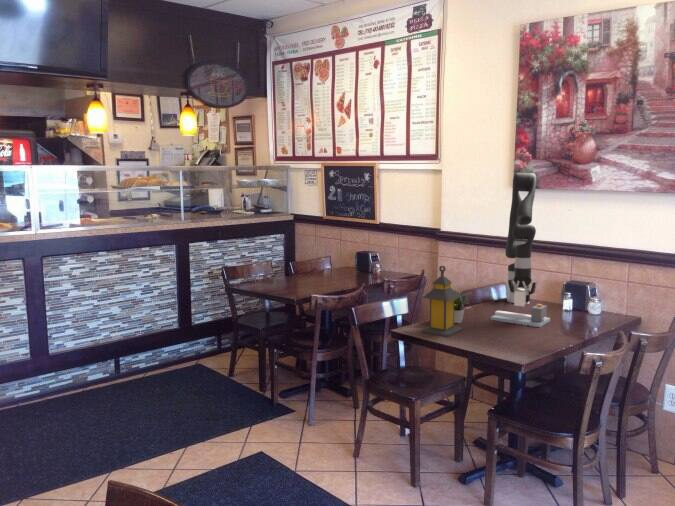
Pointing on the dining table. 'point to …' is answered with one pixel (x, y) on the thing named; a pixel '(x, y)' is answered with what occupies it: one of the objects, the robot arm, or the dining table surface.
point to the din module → (520, 297)
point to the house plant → (457, 310)
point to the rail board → (518, 321)
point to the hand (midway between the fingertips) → (521, 301)
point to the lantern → (442, 307)
